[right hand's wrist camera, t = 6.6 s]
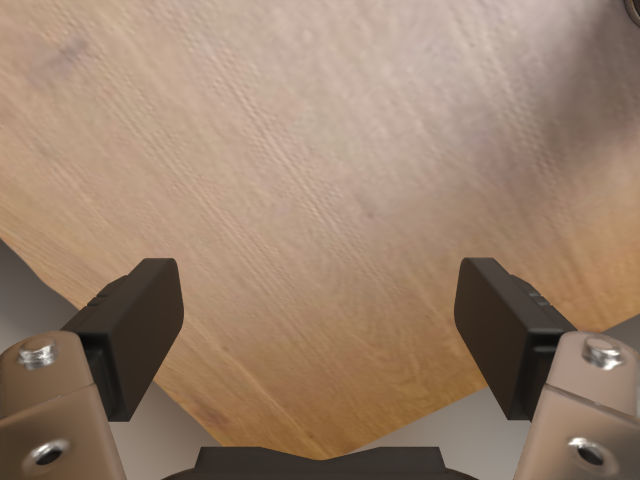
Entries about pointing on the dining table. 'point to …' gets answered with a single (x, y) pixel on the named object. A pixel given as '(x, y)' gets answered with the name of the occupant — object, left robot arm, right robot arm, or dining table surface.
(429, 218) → the dining table surface
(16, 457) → the right robot arm
